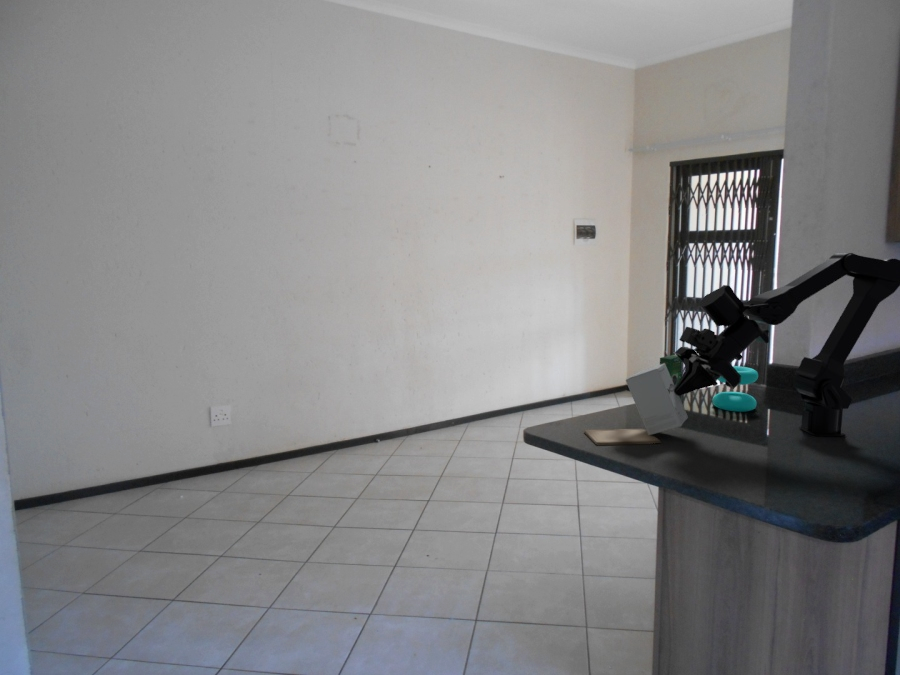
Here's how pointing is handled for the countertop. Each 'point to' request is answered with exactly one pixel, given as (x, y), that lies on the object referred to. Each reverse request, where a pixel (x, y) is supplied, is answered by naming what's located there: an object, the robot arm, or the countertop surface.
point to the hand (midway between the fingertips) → (675, 393)
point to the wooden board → (621, 436)
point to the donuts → (737, 393)
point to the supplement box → (656, 399)
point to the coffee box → (673, 367)
